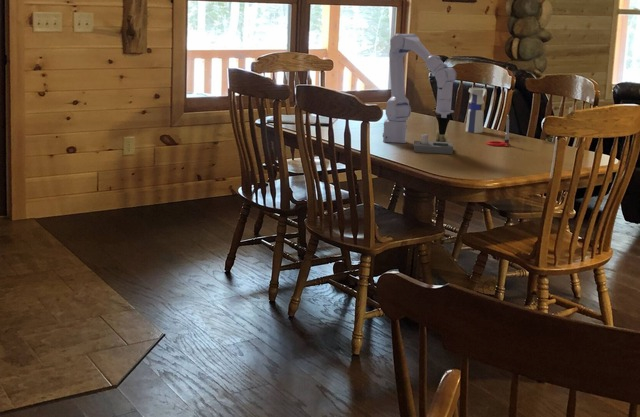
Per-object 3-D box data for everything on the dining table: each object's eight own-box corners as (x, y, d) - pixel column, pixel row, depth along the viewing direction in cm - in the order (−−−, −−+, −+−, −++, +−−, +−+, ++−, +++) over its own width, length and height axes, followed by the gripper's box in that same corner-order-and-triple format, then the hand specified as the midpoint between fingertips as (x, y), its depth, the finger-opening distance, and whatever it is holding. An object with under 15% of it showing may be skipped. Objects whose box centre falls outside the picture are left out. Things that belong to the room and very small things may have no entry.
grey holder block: (414, 151, 339) (415, 136, 338) (413, 146, 350) (414, 132, 348) (452, 154, 338) (453, 138, 336) (451, 148, 348) (452, 134, 347)
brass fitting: (435, 141, 341) (437, 119, 338) (435, 139, 345) (437, 117, 343) (446, 142, 340) (448, 119, 338) (446, 140, 344) (448, 118, 342)
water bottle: (486, 131, 394) (491, 76, 387) (479, 133, 387) (484, 77, 380) (469, 129, 398) (474, 74, 391) (462, 131, 391) (466, 75, 384)
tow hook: (485, 146, 359) (507, 147, 357) (486, 115, 356) (509, 116, 354) (487, 143, 367) (509, 144, 364) (488, 112, 364) (510, 113, 361)
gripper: (455, 101, 331) (453, 137, 334) (453, 97, 345) (451, 130, 348) (437, 101, 332) (434, 136, 335) (435, 96, 345) (433, 130, 349)
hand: (441, 133), depth 342 cm, fingers closed on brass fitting, 4 cm apart
